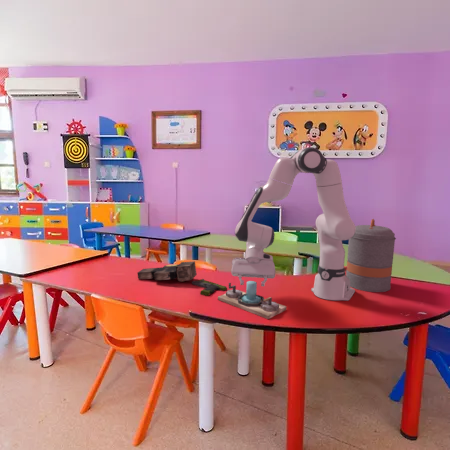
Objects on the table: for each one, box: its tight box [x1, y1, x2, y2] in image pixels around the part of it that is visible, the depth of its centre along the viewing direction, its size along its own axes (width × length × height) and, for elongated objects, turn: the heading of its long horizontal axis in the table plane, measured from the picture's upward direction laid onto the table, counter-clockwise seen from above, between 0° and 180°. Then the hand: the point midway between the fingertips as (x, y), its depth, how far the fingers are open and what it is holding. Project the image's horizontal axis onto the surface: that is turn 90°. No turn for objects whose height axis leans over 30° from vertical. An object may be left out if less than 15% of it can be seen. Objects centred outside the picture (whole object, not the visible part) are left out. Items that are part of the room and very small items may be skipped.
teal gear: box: [242, 280, 261, 303], centre depth 141 cm, size 8×8×8 cm
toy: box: [137, 260, 197, 283], centre depth 175 cm, size 16×9×30 cm
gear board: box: [217, 282, 287, 320], centre depth 141 cm, size 13×28×8 cm, turn 46°
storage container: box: [345, 218, 397, 293], centre depth 168 cm, size 22×22×35 cm
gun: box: [191, 278, 228, 297], centre depth 162 cm, size 2×19×15 cm
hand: (252, 285), depth 146 cm, fingers open, 8 cm apart
